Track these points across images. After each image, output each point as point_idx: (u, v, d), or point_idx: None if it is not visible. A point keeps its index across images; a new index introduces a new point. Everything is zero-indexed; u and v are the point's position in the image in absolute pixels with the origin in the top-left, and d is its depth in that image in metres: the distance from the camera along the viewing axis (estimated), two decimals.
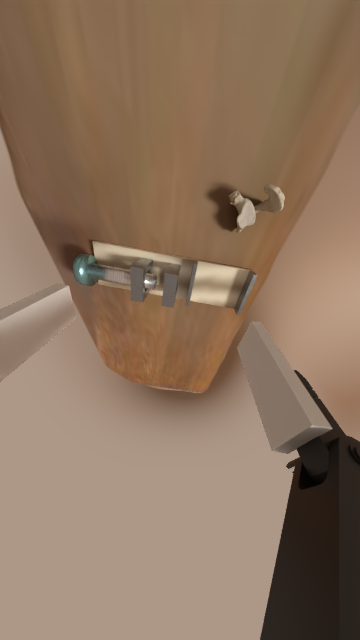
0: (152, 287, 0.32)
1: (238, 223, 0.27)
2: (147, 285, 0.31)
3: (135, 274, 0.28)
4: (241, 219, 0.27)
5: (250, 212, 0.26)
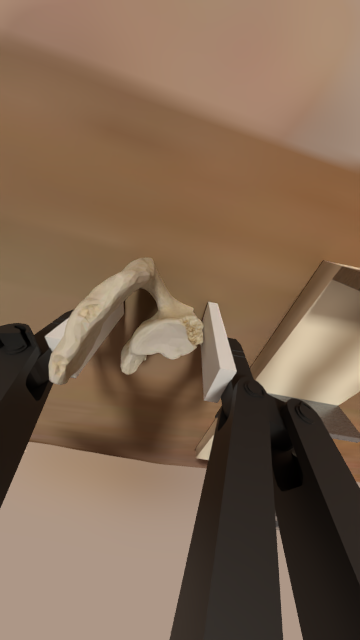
0: None
1: None
2: None
3: None
4: (172, 350, 0.10)
5: (156, 334, 0.09)
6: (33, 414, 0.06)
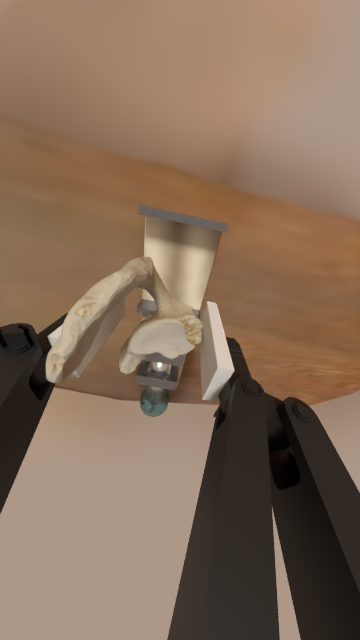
0: (163, 364, 0.26)
1: (180, 353, 0.10)
2: (161, 368, 0.26)
3: (143, 381, 0.26)
4: (170, 349, 0.10)
5: (155, 334, 0.09)
6: (36, 414, 0.06)
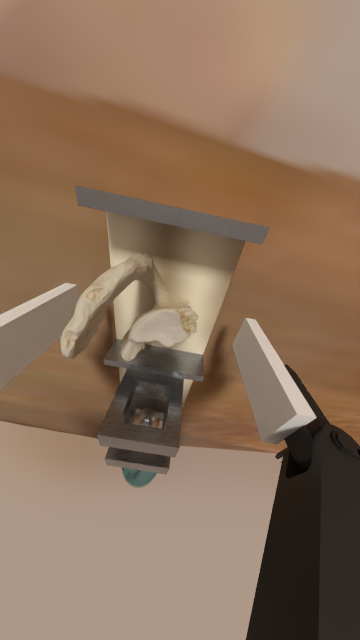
0: None
1: None
2: None
3: (118, 464, 0.17)
4: (168, 338, 0.11)
5: (153, 323, 0.10)
6: None
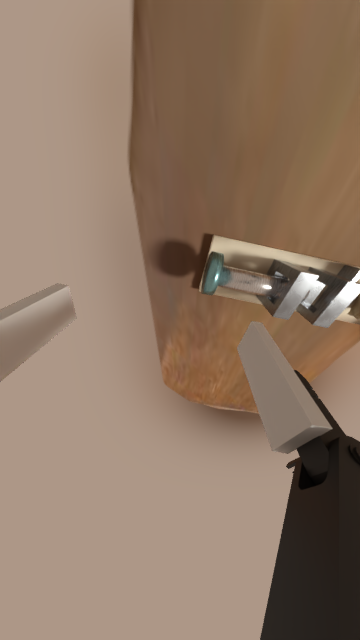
0: None
1: None
2: None
3: (301, 283, 0.20)
4: None
5: None
6: None
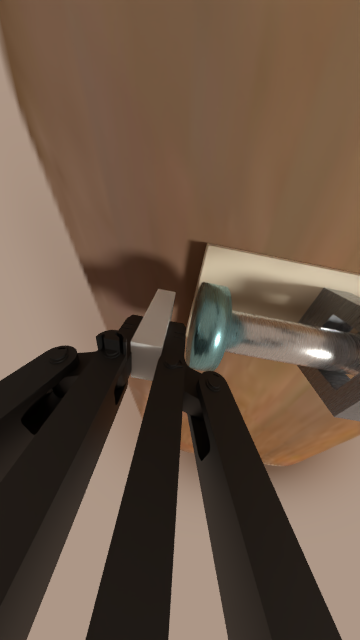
0: None
1: None
2: None
3: None
4: None
5: None
6: (112, 418, 0.06)
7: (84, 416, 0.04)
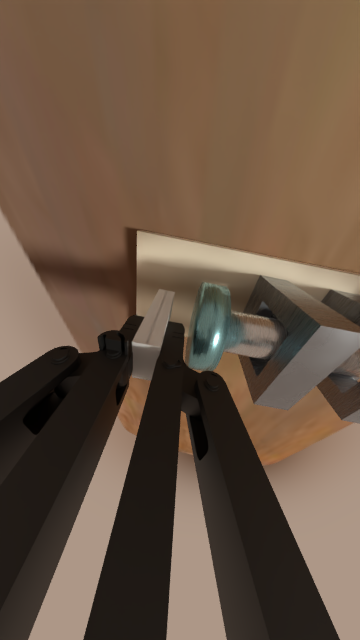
0: None
1: None
2: None
3: (321, 350, 0.08)
4: None
5: None
6: (113, 418, 0.06)
7: (86, 416, 0.04)
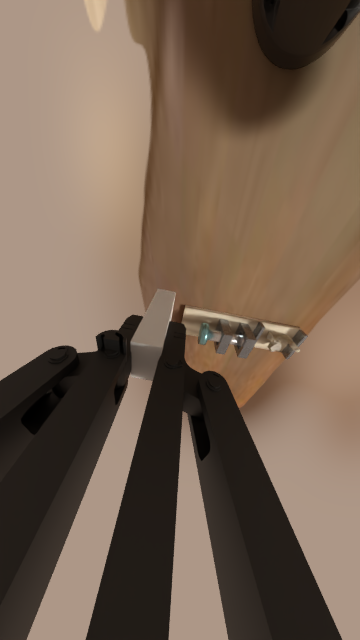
0: None
1: (270, 349, 0.46)
2: None
3: (225, 338, 0.40)
4: (272, 347, 0.46)
5: (278, 346, 0.45)
6: (112, 418, 0.06)
7: (84, 416, 0.04)
